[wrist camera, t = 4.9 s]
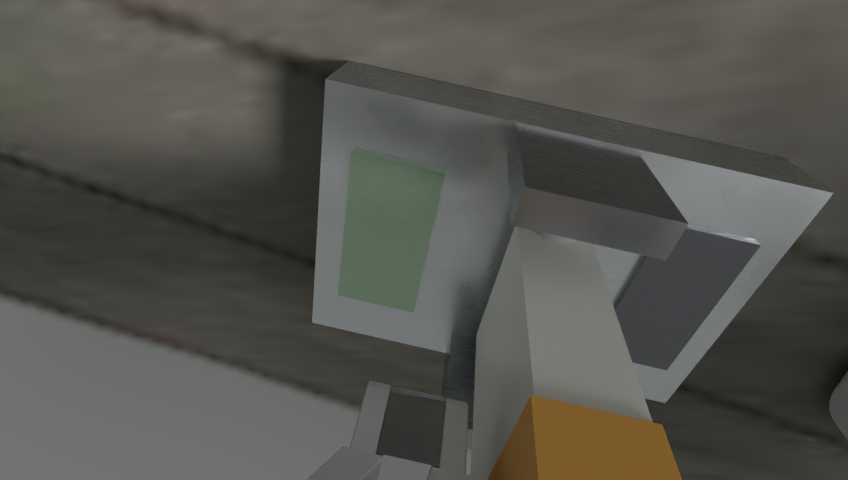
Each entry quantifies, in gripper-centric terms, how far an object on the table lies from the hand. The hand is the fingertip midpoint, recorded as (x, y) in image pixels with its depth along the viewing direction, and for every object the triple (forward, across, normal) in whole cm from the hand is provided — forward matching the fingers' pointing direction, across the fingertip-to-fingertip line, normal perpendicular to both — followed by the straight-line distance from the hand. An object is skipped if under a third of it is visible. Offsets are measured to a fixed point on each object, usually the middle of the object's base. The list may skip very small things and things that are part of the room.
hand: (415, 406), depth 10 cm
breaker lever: (+5, -3, 0) cm, 6 cm away
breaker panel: (+9, -3, 0) cm, 10 cm away
